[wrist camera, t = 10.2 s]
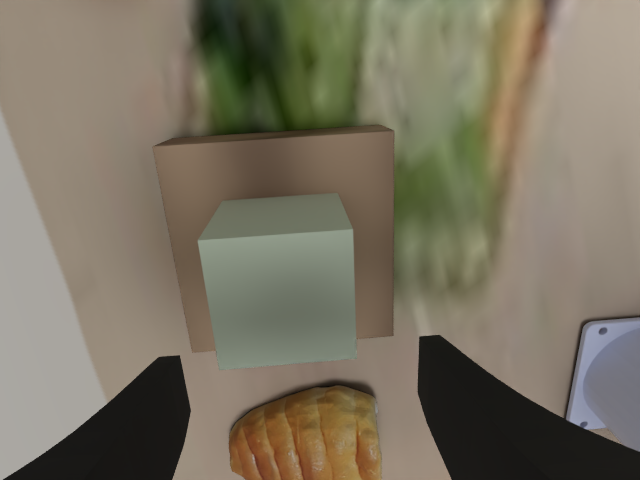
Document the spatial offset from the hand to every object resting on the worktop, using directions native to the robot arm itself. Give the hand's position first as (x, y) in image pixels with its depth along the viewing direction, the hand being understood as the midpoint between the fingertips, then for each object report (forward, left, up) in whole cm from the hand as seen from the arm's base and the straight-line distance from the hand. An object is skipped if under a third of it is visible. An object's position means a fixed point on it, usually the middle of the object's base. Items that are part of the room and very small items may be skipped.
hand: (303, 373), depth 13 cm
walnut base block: (+1, -1, -10) cm, 10 cm away
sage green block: (+1, -1, -7) cm, 7 cm away
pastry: (0, +12, -11) cm, 16 cm away
